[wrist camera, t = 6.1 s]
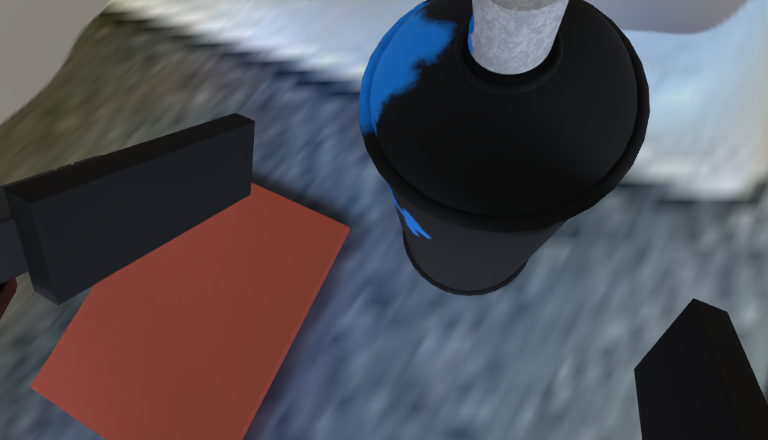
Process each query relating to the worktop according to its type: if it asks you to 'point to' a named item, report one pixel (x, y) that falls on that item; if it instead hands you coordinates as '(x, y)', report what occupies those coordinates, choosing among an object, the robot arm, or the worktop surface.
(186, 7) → the worktop surface
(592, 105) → the aerosol can
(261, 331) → the pad
